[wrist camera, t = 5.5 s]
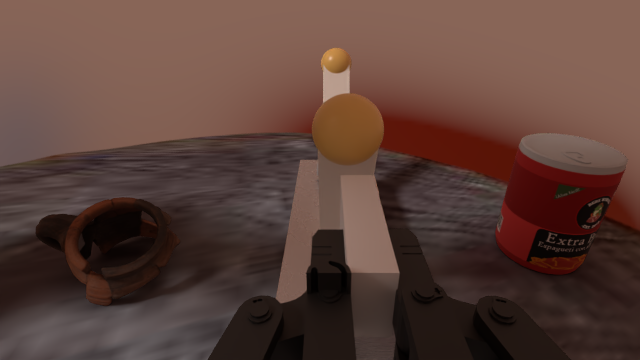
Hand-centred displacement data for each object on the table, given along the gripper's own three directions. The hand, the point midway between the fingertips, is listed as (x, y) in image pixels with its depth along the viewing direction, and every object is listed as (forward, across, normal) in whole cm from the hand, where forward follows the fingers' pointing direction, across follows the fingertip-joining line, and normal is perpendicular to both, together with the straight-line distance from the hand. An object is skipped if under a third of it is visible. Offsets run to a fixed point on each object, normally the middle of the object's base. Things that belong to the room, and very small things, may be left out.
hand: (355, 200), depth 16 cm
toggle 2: (+8, 0, -9) cm, 12 cm away
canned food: (+14, +20, -14) cm, 28 cm away
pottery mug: (+11, -21, -14) cm, 27 cm away
